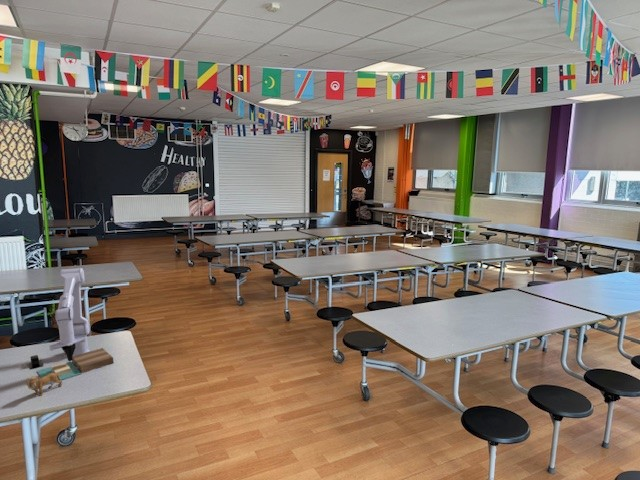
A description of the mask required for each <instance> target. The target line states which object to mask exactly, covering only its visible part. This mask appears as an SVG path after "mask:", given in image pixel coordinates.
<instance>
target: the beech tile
mask: <svg viewBox="0 0 640 480" xmlns="http://www.w3.org/2000/svg"><path fill="white" fill-rule="evenodd" d="M66 362H67V361H66ZM66 362H65V361H64V362H62V363H59V364H56V365H52V366H50V367H51V370H52V372H53V373H56V374H58V376H61V375H65V374H68V373H71V368H70V367H69V366H68V365H67V364H66Z"/></svg>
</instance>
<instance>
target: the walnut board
mask: <svg viewBox="0 0 640 480" xmlns="http://www.w3.org/2000/svg"><path fill="white" fill-rule="evenodd" d="M71 362H72V363H73V364H74V366H75V367H76V368H77V369H78V370H79V372H80V373H81V374H83V373H86V372H89V371H93V370H96V369H97V370H98V369H100V368H103V367H107V366H110V365H112V364H114V357H113V356H112V355H111V354H110V353H109V352H107V350H105V349H104V347H101V348H98V349H94V350H90V352H86V353H82V354H79V355H75V356H73V357H72V361H71Z"/></svg>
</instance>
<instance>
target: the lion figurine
mask: <svg viewBox="0 0 640 480" xmlns="http://www.w3.org/2000/svg"><path fill="white" fill-rule="evenodd" d="M49 382H50V383H51V384H50V385H49V384H48V383H49ZM55 383H57V384H58V387H59V388H60V387H62V386H63V384H62V383H63V380H61V381H60V378H59V376H58V374H56V373H51V374H48V375H47V376H45V377H43V378H41V377H40V376H31V377H29V378H28V379H27V380H26V387H27V388H28V389H29V390H32V391H34V392H35V393H34V394H33V395H34V396H36V395H39V396H43V394H44V393H43V387H44V386H47V384H48V385H49V386H48V389H51V388H52V387H53V386H54V384H55Z"/></svg>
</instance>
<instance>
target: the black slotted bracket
mask: <svg viewBox="0 0 640 480" xmlns="http://www.w3.org/2000/svg"><path fill="white" fill-rule="evenodd" d="M29 359H30V362H27V366H28V369H29V370H34V369H38V368H42V367H44V364H43V362H42V360H41V359H40V358H39V356H38V355H37V354H35V355H32V356H30V358H29Z"/></svg>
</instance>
